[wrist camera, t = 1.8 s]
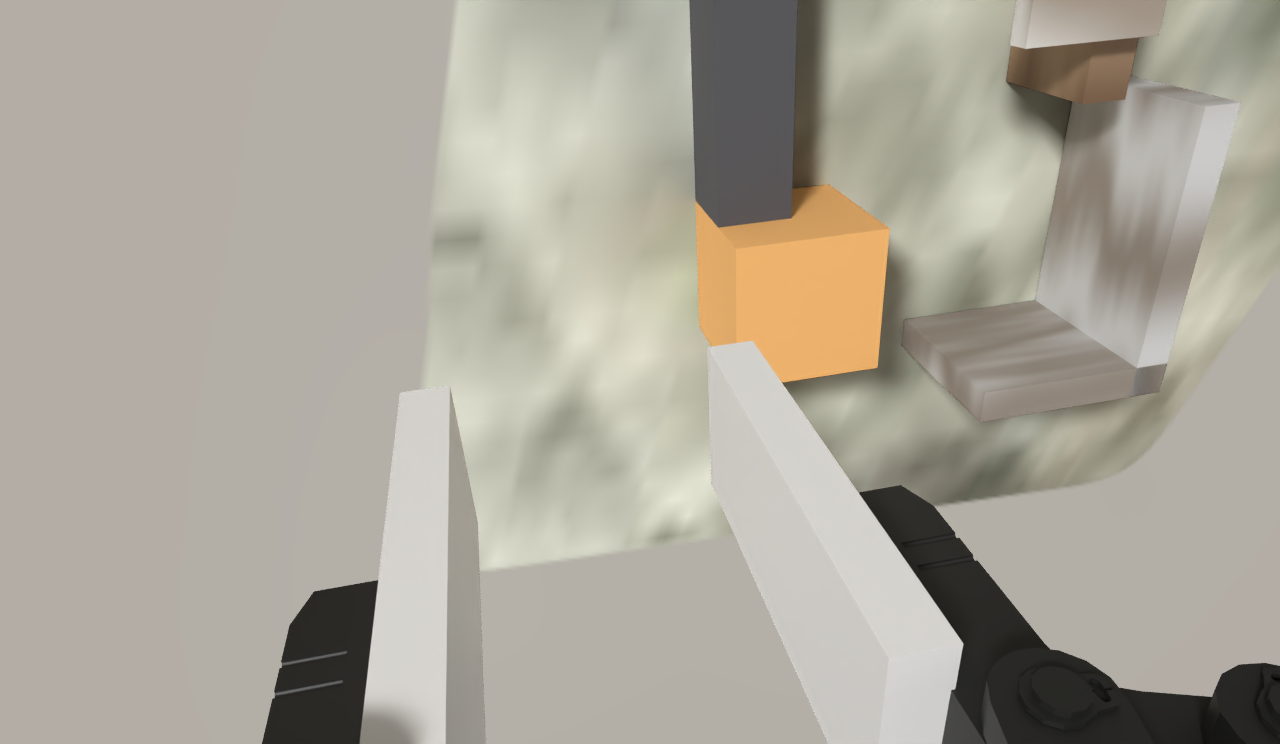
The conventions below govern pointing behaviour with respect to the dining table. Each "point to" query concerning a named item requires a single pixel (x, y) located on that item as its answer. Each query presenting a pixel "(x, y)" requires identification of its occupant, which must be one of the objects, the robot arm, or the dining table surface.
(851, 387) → the dining table surface
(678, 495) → the dining table surface
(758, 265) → the grey and orange bar
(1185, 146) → the rail
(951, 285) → the dining table surface
